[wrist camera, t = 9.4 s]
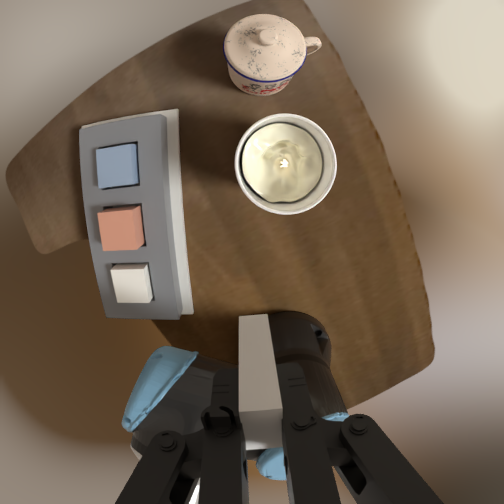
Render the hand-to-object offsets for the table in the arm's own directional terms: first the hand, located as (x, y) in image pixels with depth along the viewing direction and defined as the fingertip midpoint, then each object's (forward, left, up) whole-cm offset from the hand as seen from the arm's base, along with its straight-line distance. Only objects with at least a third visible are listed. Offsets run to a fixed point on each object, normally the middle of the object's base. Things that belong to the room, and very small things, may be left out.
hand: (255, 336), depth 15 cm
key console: (+2, +16, -26) cm, 31 cm away
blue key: (+10, +16, -24) cm, 30 cm away
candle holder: (+9, -4, -26) cm, 28 cm away
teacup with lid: (+23, -4, -26) cm, 35 cm away
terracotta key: (+2, +16, -23) cm, 28 cm away
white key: (-6, +16, -24) cm, 29 cm away
